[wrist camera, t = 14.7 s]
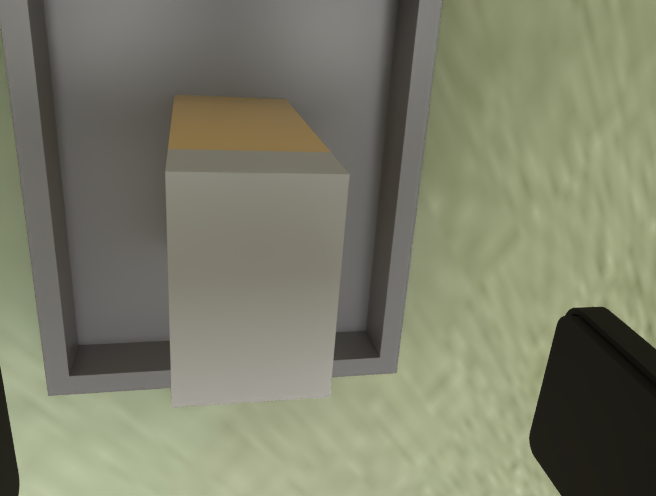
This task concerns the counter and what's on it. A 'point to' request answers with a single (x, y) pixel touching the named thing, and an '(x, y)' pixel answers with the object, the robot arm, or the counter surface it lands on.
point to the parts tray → (152, 146)
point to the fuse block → (251, 252)
